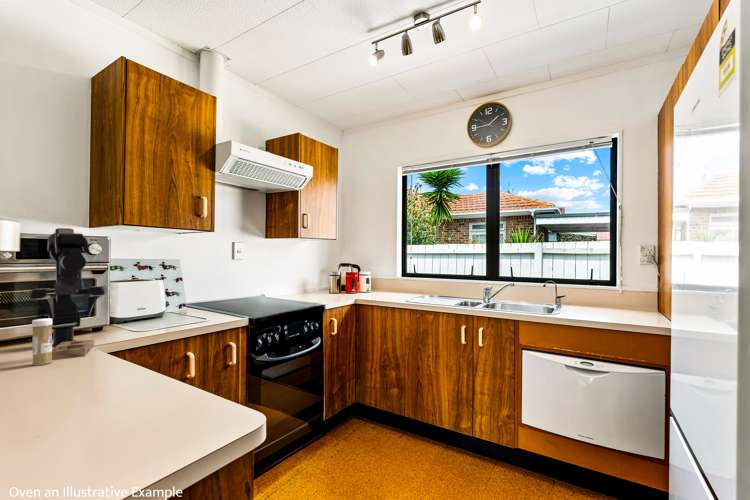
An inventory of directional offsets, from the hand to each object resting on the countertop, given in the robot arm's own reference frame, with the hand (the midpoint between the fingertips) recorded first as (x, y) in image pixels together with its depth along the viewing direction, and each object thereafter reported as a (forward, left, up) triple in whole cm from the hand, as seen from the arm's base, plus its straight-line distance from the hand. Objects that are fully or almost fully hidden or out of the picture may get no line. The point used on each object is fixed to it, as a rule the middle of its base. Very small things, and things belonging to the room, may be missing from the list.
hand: (70, 318), depth 119 cm
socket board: (-4, 0, -12) cm, 12 cm away
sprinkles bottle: (+8, -5, -12) cm, 16 cm away
